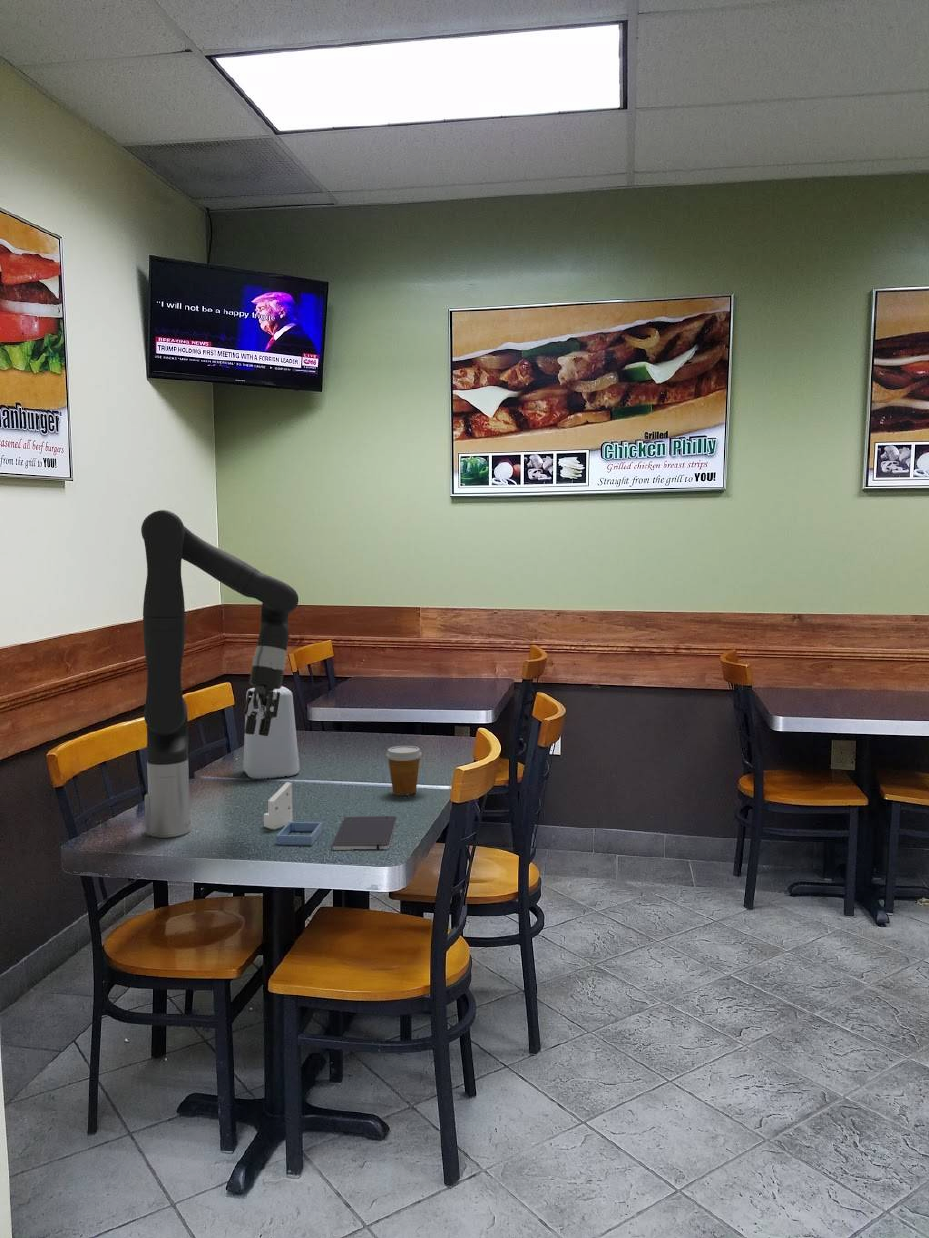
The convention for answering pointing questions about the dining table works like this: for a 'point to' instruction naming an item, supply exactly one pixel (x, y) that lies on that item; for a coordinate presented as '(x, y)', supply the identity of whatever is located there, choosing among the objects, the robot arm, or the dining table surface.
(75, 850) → the dining table surface
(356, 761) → the dining table surface
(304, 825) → the blue rectangular frame
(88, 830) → the dining table surface
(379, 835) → the notebook
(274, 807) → the white angled block
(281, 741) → the plastic bottle
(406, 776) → the disposable coffee cup
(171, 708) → the robot arm
